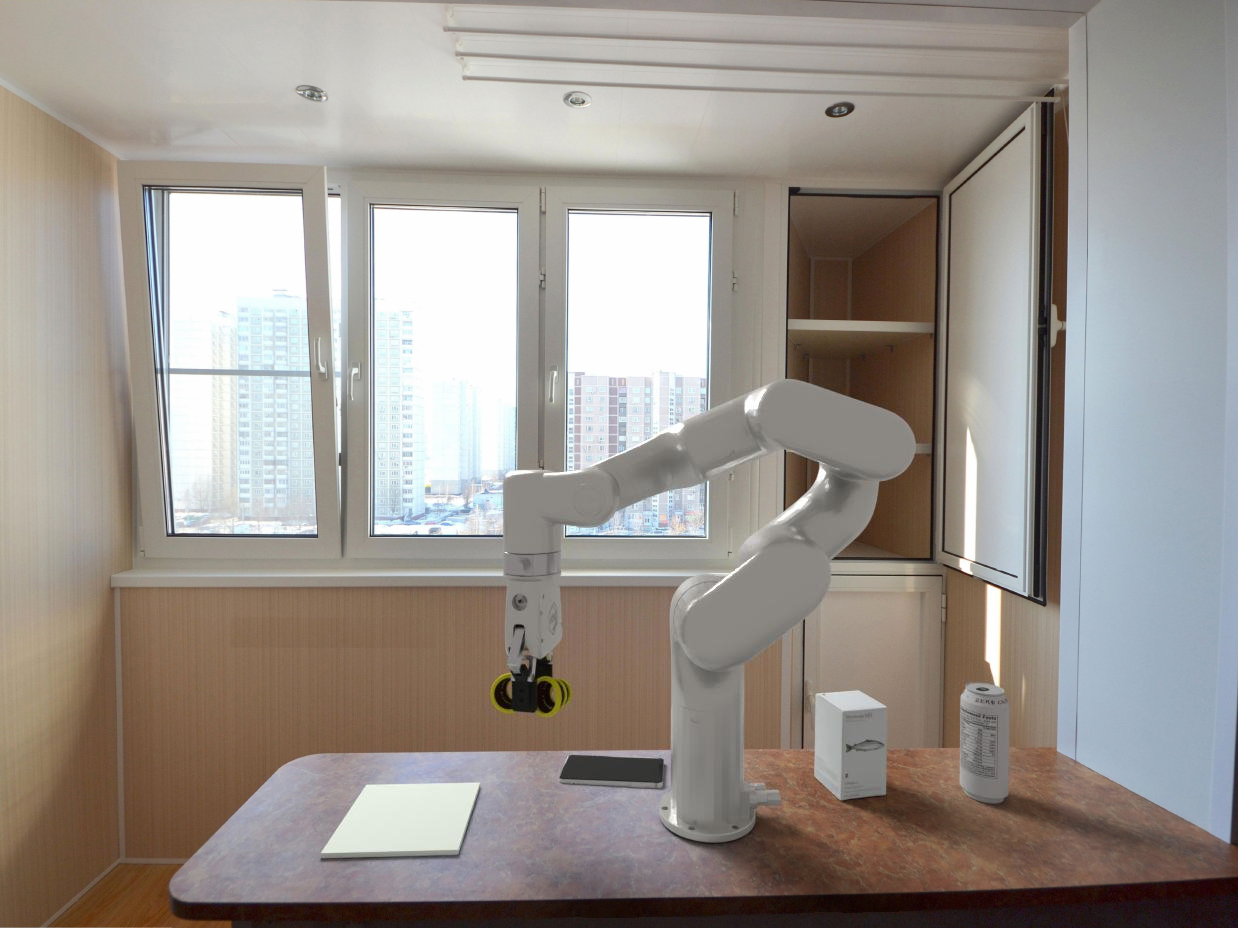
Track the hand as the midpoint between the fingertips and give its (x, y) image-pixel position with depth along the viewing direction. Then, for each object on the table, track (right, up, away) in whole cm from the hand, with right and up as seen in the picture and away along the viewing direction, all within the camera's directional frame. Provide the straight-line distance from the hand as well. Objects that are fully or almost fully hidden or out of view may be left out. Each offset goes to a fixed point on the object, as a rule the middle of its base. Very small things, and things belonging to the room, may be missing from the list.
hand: (533, 700), depth 86 cm
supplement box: (+44, -16, +8) cm, 48 cm away
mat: (-16, -15, -1) cm, 22 cm away
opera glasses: (0, -1, 0) cm, 1 cm away
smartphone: (+10, -16, +12) cm, 23 cm away
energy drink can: (+63, -16, +6) cm, 65 cm away
